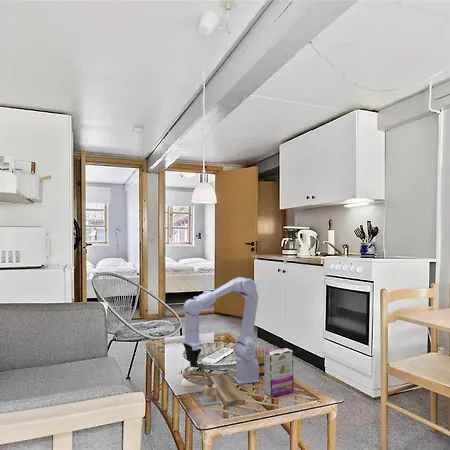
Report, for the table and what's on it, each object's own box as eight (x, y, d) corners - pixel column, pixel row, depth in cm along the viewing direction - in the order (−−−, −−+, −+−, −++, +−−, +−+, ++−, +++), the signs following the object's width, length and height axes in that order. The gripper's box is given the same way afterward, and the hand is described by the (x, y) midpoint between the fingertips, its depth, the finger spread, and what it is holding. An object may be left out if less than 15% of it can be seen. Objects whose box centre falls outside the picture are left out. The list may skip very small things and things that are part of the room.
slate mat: (215, 396, 139) (215, 395, 139) (220, 403, 133) (220, 402, 133) (197, 398, 137) (197, 397, 137) (201, 406, 131) (201, 405, 131)
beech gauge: (214, 397, 137) (214, 381, 137) (216, 401, 134) (216, 384, 135) (204, 398, 136) (204, 382, 136) (205, 402, 133) (205, 385, 133)
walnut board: (226, 378, 158) (226, 374, 158) (245, 403, 133) (245, 399, 133) (208, 380, 155) (208, 376, 156) (224, 406, 130) (224, 401, 131)
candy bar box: (286, 388, 147) (286, 347, 148) (294, 392, 143) (293, 350, 144) (263, 393, 142) (263, 351, 143) (270, 398, 138) (270, 354, 139)
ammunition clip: (251, 377, 159) (248, 348, 163) (249, 376, 160) (246, 348, 164) (272, 373, 163) (269, 346, 167) (270, 373, 164) (267, 346, 168)
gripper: (179, 326, 153) (179, 358, 152) (185, 334, 139) (184, 370, 138) (195, 325, 154) (195, 357, 154) (202, 333, 140) (202, 368, 140)
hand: (191, 363), depth 146 cm, fingers open, 7 cm apart
